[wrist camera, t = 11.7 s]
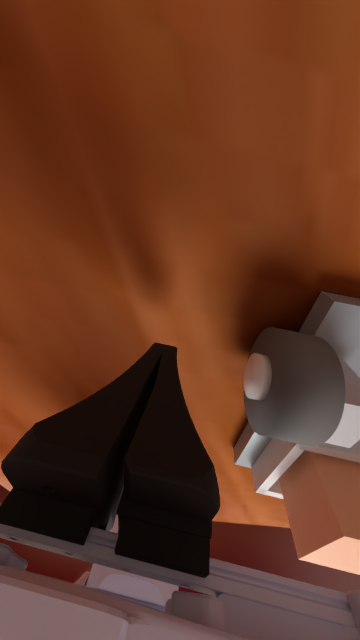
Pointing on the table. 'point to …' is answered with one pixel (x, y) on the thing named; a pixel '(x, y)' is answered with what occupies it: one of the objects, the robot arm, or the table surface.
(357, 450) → the chassis
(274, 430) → the wheel
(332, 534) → the tan rectangular block
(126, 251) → the table surface
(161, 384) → the robot arm
